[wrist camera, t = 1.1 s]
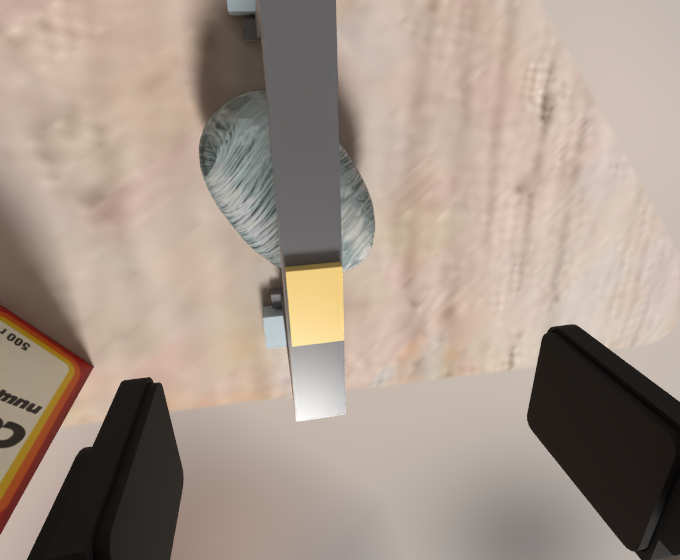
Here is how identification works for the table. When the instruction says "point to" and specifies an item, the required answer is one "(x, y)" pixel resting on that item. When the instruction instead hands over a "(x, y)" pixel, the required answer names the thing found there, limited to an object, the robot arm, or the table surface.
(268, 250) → the gray yarn ball
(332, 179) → the gray arch frame
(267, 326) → the pale blue block pair
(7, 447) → the baking soda box
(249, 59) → the table surface
